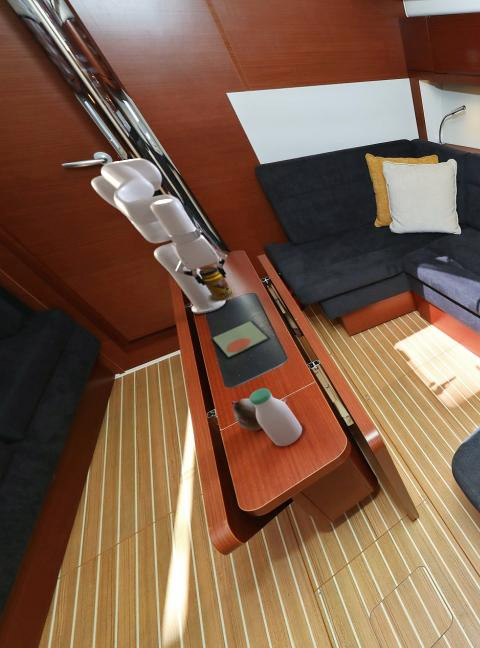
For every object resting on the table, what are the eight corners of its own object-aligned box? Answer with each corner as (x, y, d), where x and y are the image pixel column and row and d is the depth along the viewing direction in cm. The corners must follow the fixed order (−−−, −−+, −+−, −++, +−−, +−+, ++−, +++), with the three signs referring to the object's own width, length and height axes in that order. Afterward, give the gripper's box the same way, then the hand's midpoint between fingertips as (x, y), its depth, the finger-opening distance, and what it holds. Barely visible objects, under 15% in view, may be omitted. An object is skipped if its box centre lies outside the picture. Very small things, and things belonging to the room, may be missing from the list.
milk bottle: (308, 428, 102) (281, 387, 90) (287, 450, 96) (256, 409, 84) (289, 421, 104) (261, 380, 92) (268, 442, 98) (234, 401, 86)
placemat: (213, 338, 135) (212, 337, 135) (250, 322, 144) (250, 320, 144) (229, 358, 126) (228, 356, 126) (268, 338, 135) (267, 337, 135)
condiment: (234, 297, 127) (218, 270, 120) (207, 305, 123) (189, 277, 116) (234, 289, 132) (218, 263, 125) (208, 296, 128) (190, 269, 121)
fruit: (240, 421, 104) (220, 398, 97) (272, 403, 110) (255, 379, 102) (250, 441, 98) (229, 418, 91) (283, 421, 104) (266, 397, 97)
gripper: (211, 226, 120) (235, 268, 131) (150, 242, 109) (182, 287, 120) (218, 231, 117) (243, 274, 128) (156, 248, 106) (189, 293, 117)
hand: (213, 280), depth 124 cm, fingers closed on condiment, 6 cm apart
